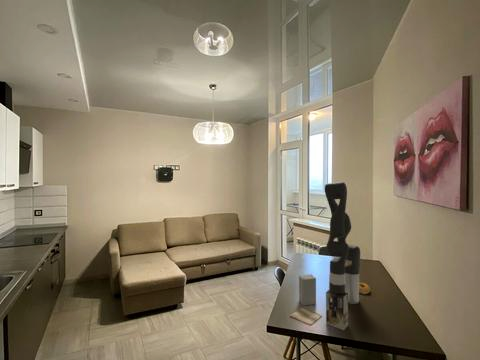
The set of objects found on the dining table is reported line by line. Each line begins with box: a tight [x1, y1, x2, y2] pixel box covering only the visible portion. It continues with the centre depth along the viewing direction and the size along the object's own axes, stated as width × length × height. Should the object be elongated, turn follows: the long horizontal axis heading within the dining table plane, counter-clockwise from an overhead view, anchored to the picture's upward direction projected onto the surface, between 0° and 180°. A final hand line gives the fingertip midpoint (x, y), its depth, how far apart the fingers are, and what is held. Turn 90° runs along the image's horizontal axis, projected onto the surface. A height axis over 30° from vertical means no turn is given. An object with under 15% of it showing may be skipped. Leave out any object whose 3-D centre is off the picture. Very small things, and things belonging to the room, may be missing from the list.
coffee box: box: [325, 289, 349, 331], centre depth 129 cm, size 9×6×16 cm
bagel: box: [359, 281, 371, 295], centre depth 168 cm, size 10×11×5 cm
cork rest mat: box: [289, 307, 323, 326], centre depth 136 cm, size 12×12×1 cm
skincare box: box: [298, 273, 317, 307], centre depth 151 cm, size 8×7×16 cm
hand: (336, 314), depth 129 cm, fingers closed on coffee box, 6 cm apart
